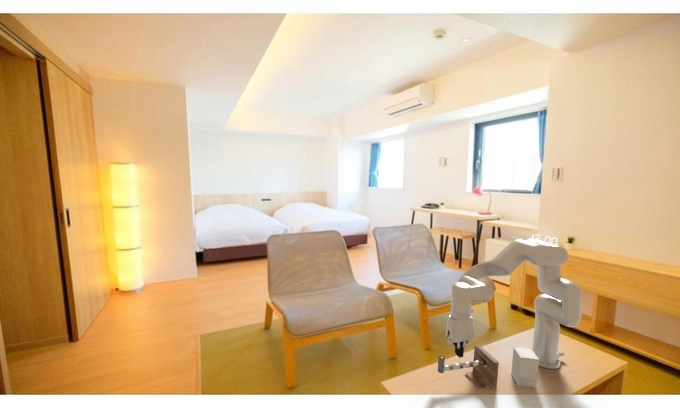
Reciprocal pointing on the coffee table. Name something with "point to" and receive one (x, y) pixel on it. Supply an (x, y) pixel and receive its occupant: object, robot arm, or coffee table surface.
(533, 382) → the supplement box
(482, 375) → the bracket
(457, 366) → the shaft
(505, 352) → the coffee table surface
